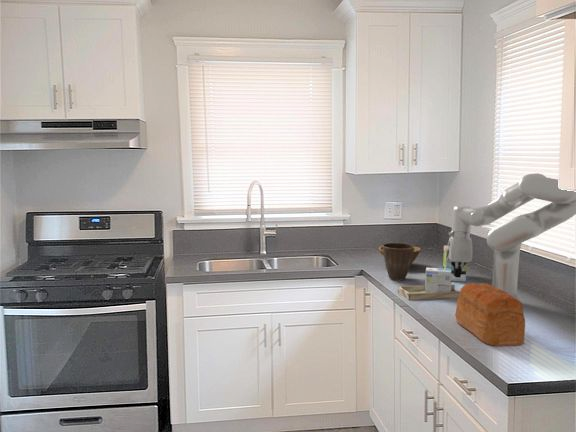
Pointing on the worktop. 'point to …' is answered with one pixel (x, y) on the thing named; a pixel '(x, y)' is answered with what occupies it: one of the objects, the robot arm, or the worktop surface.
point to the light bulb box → (437, 280)
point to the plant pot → (398, 259)
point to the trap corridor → (419, 293)
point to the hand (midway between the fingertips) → (457, 276)
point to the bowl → (415, 254)
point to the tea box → (449, 266)
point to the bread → (491, 314)
